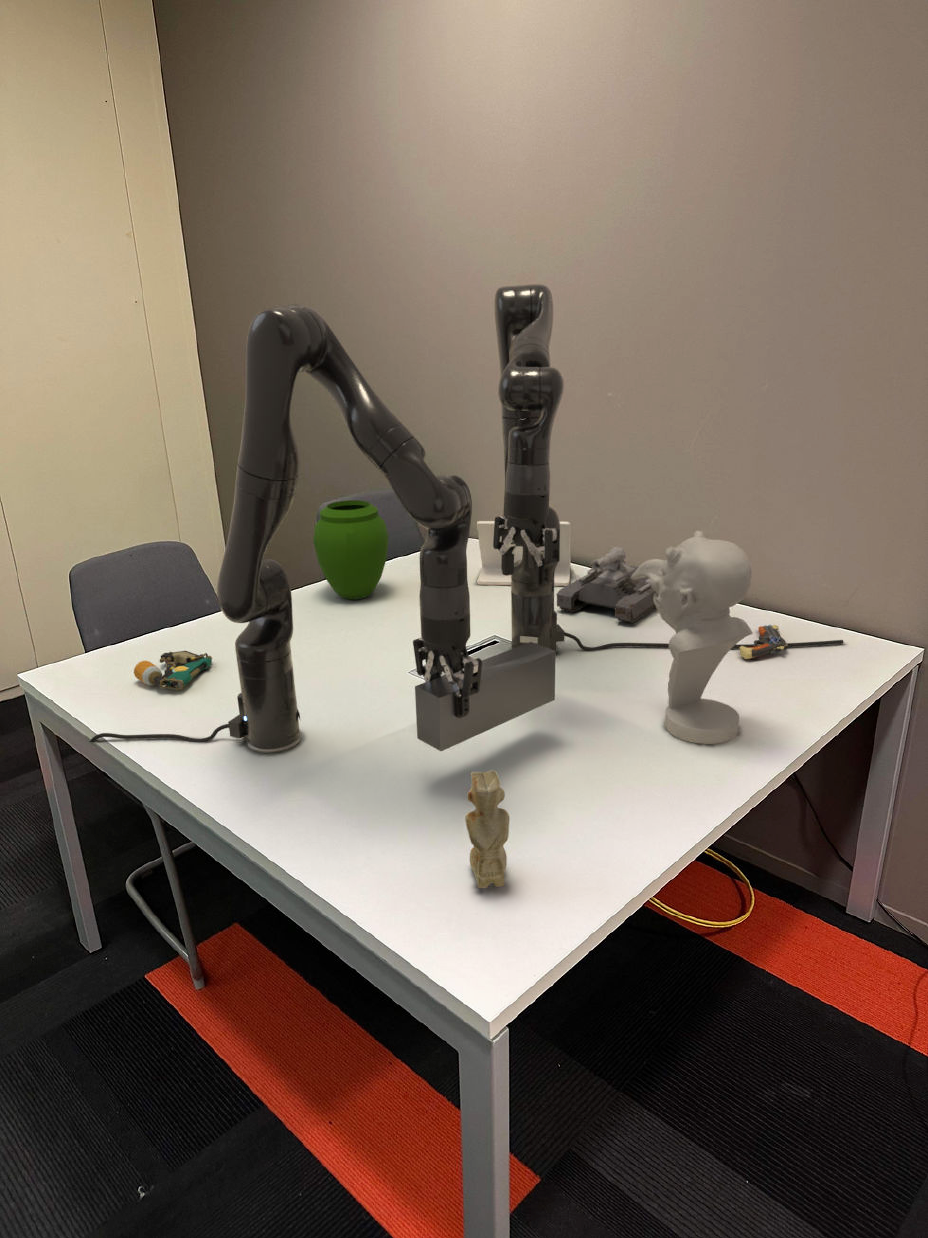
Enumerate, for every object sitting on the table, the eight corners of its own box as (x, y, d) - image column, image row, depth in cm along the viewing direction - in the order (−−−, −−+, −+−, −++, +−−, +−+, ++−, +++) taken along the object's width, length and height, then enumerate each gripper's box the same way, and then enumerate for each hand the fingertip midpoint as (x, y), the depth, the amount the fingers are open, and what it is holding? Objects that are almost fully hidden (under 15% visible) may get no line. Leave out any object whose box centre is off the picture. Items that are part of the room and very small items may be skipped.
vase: (406, 590, 229) (401, 501, 221) (360, 612, 214) (353, 517, 206) (350, 579, 239) (343, 494, 231) (303, 600, 224) (293, 509, 216)
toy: (603, 584, 229) (605, 530, 224) (673, 597, 218) (677, 540, 213) (555, 612, 210) (556, 553, 205) (630, 627, 199) (633, 566, 194)
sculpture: (507, 859, 119) (506, 764, 113) (512, 893, 112) (511, 794, 107) (465, 861, 118) (462, 767, 113) (468, 895, 112) (465, 796, 106)
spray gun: (177, 659, 191) (231, 671, 185) (120, 684, 176) (176, 698, 171) (176, 641, 190) (230, 653, 184) (118, 665, 175) (174, 678, 169)
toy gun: (742, 650, 179) (792, 647, 177) (732, 623, 197) (777, 620, 194) (742, 662, 179) (792, 659, 177) (732, 635, 197) (778, 632, 195)
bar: (530, 689, 151) (530, 641, 148) (555, 699, 147) (555, 650, 144) (417, 738, 136) (414, 686, 132) (440, 751, 131) (438, 698, 128)
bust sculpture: (671, 682, 170) (682, 511, 158) (763, 732, 151) (784, 540, 138) (606, 701, 164) (613, 523, 151) (694, 755, 144) (709, 555, 131)
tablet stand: (569, 585, 229) (570, 524, 223) (476, 584, 232) (475, 523, 226) (570, 566, 246) (571, 508, 240) (484, 564, 249) (483, 507, 243)
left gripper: (396, 603, 131) (401, 702, 137) (457, 628, 121) (460, 733, 127) (433, 592, 136) (437, 688, 142) (495, 614, 126) (497, 717, 132)
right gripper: (483, 485, 148) (481, 574, 153) (541, 497, 138) (537, 593, 143) (515, 480, 153) (512, 567, 158) (573, 492, 142) (568, 585, 148)
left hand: (448, 709), depth 134 cm, fingers closed on bar, 6 cm apart
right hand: (524, 580), depth 150 cm, fingers open, 8 cm apart
